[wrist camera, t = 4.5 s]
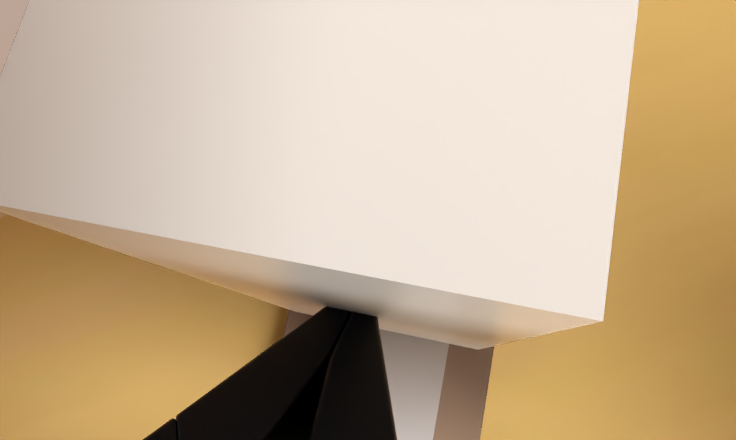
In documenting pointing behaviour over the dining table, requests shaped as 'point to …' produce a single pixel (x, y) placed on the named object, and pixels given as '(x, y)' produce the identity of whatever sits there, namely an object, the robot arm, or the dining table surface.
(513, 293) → the switch module
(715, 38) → the dining table surface
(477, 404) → the rail board
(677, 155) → the dining table surface
